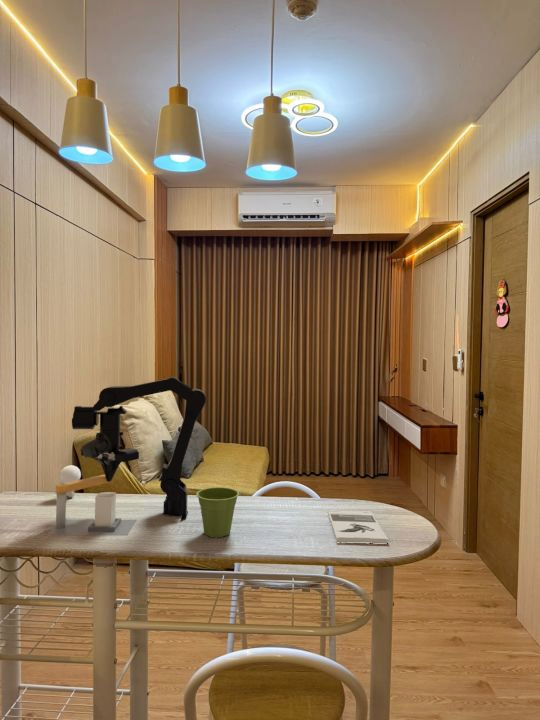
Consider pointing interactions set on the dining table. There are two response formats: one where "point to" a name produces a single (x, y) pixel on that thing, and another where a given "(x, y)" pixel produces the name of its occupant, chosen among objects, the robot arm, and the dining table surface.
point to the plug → (105, 509)
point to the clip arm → (81, 484)
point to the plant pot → (217, 510)
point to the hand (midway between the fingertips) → (109, 481)
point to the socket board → (85, 523)
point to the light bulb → (70, 477)
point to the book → (356, 527)
